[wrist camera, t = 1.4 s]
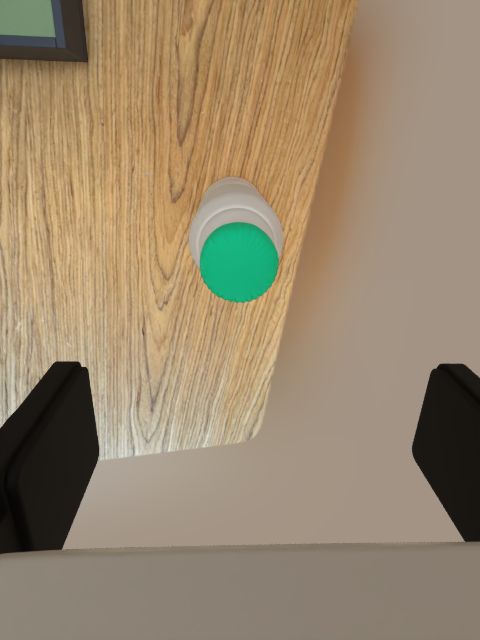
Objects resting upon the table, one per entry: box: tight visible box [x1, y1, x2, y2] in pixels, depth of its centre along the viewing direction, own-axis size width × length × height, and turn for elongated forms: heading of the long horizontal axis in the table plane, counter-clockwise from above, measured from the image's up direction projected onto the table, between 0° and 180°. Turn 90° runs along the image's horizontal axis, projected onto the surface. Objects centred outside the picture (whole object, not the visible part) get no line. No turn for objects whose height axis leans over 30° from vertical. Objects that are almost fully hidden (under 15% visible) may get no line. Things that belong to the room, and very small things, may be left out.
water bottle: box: [189, 177, 283, 303], centre depth 34 cm, size 7×7×25 cm
